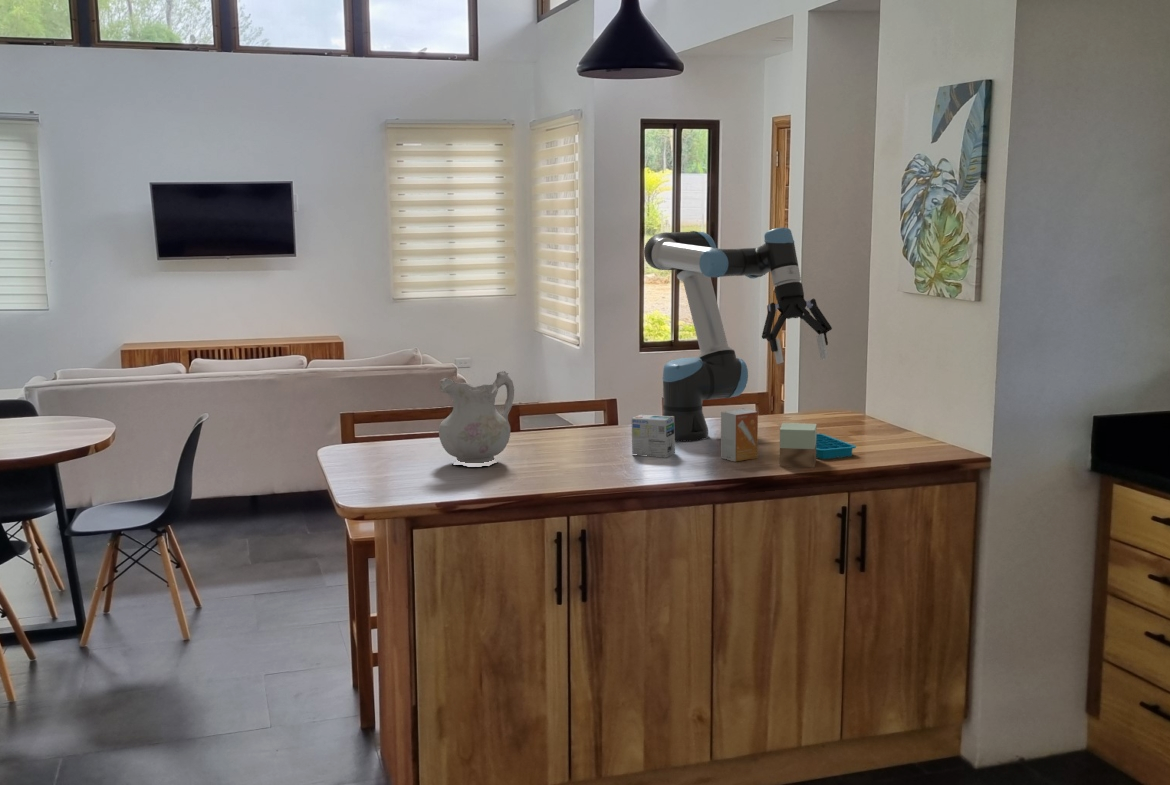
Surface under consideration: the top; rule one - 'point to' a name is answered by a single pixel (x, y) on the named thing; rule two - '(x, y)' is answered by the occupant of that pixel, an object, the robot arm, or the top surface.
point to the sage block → (798, 435)
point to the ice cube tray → (832, 447)
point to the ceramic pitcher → (476, 420)
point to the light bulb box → (653, 435)
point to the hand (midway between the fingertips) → (802, 360)
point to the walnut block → (797, 457)
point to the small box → (739, 434)
